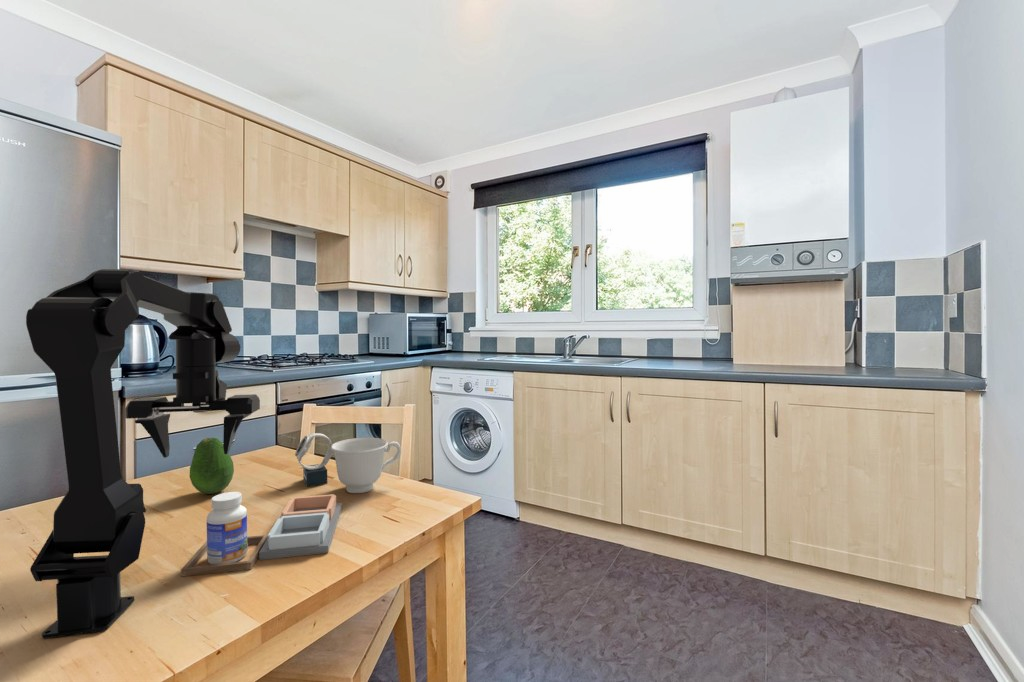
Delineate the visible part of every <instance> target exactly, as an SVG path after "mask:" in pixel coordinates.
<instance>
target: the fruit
mask: <svg viewBox="0 0 1024 682" xmlns="http://www.w3.org/2000/svg"><path fill="white" fill-rule="evenodd" d="M193 453H194V454H193V456H192V459H191V464H190V467H189V479H190V482H191V485H192V486H193V487H194V488H195V489H196V491H198V492H200V493H201V494H202V493H203V494H205V495H209V494H210V495H213V494H217V493H219V492H222V491H224V490H225V489H226V488H228V487H229V485H230V483H231V481H232V480H233V478H234V471H235V469H234V461H233V459H232V456H231V454H230V452H229V453H228V454H224V448H223V442H222V441H221V440H220V439H219V438H217V437H213V436H211V437H207V438H204V439H202V440H201V441H200V442H199V443H198V444H196V446H195V450H194V452H193Z"/></svg>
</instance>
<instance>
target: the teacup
mask: <svg viewBox="0 0 1024 682" xmlns="http://www.w3.org/2000/svg"><path fill="white" fill-rule="evenodd" d="M332 444H333V445H332V446H331V449H332V450H333V454H334V458H335V459H334V460H335V465H336V466H335V467H336V472H337V477H338V480H339V481H340V483H341V484H342V485H344V486H346V489H345V490H346V492H348V493H351V494H363V493H366V492H367V493H368V492H370V491H372V490H373V489H374V488H375V487H374V483H376V482H377V481H378V480H379V479H380V477H381V475H382V472H383V470H384V469H385V468H386V466H388V465H389V464H391V463H394V462H396V461H397V460H398V459H399V458H400V456H401V453H402V448H401V445H400V444H399V442H397V441H391V442H389V443H388V441H387V440H386V439H383V438H378V437H353V438H348V439H343V440H339V441H336V442H334V443H332ZM392 447H396V453H395V455H393V456H392V457H391V458H388V459H387V460H386V461H384V456H385V453H389V452H391V448H392Z"/></svg>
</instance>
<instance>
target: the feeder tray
mask: <svg viewBox="0 0 1024 682" xmlns="http://www.w3.org/2000/svg"><path fill="white" fill-rule="evenodd" d="M267 539H268V534H263V535H254V536H247V544H248V545H252V544H253V545H254V544H255V545H256V544H258V545H257V546H256V548H255V549H254V551H252V554H251V555H250V557H249V559H248V560H243V561H236V562H232V563H222V564H213V565H212V564H205V565H197V564H198V563H199V561H200V560H201V559H202V557H203V556H204V555H205V554H207V540H206V541H205V542H204V543H203V544H202V545H201V546H200V548H199V549H198V550H197V551H196V553H194V555H192V557H191V558H190V559H189V560H188V561H187V562H186V563H185V565H183V567H182V568H181V569H180V577H191V576H197V575H199V576H200V575H209V574H216V573H217V574H218V573H226V572H234V571H236V572H237V571H244V570H251V569H253V567H254V565H255V563H256V562H257V560H259V552H260V550H261V549H262V547H263V545H264V544H265V542H266V541H267Z"/></svg>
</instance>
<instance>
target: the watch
mask: <svg viewBox="0 0 1024 682" xmlns="http://www.w3.org/2000/svg"><path fill="white" fill-rule="evenodd" d="M316 437H318V438H319V437H321V438H324V439H326V440H327V441H328V442H329V444H328V448H327V451H326V454H325V455H324V457H323V458H322V461H321V462H320V463H317V464H310V465H307V464H304V463H302V458H303V457H305V455H306V454H307V453H308V451H309V449H310V447H311V445H312V441H313V440H314V438H316ZM333 444H334V443H333V441H332V440H331V439H330V438H329V437H328V436H327V435H325V434H323V433H320V432H314V433H310V434H308V435H305V436H303V438H302V439H301V441H300V442H299V443H298V445H297V447H296V450H295V452H294V454H295V455H294V456H295V457H296V459H297V461H298V463H299V465H300V466H301V467H302V468H303V470H302V471H303V473H302V475H303V482H304V484H305V485H306V487H308V488H309V487H313V486H314V487H315V486H318V485H319V486H321V485H326V484H328V469H327V468H326V466H327V464H328V463H329V461H330V459H331V458H332V455H333V454H334V452H333V450H332V449H331V446H332V445H333Z"/></svg>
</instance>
